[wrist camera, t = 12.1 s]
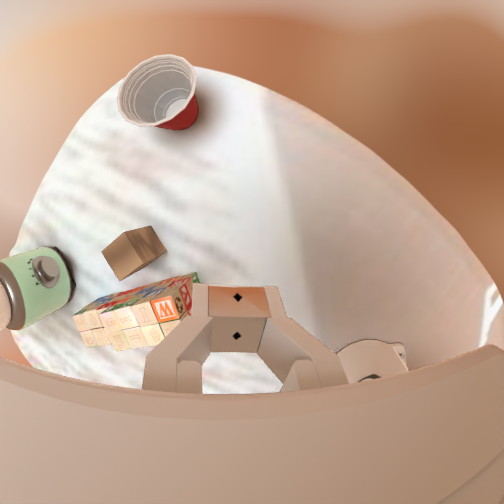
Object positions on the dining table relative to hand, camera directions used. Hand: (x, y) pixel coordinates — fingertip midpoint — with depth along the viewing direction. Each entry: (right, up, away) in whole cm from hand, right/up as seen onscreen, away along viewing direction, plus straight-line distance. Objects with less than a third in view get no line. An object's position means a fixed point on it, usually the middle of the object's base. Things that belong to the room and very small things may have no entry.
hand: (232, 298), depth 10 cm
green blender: (-41, -4, +37) cm, 55 cm away
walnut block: (-17, +3, +34) cm, 38 cm away
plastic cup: (-10, +24, +29) cm, 39 cm away
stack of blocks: (-17, -7, +36) cm, 41 cm away
